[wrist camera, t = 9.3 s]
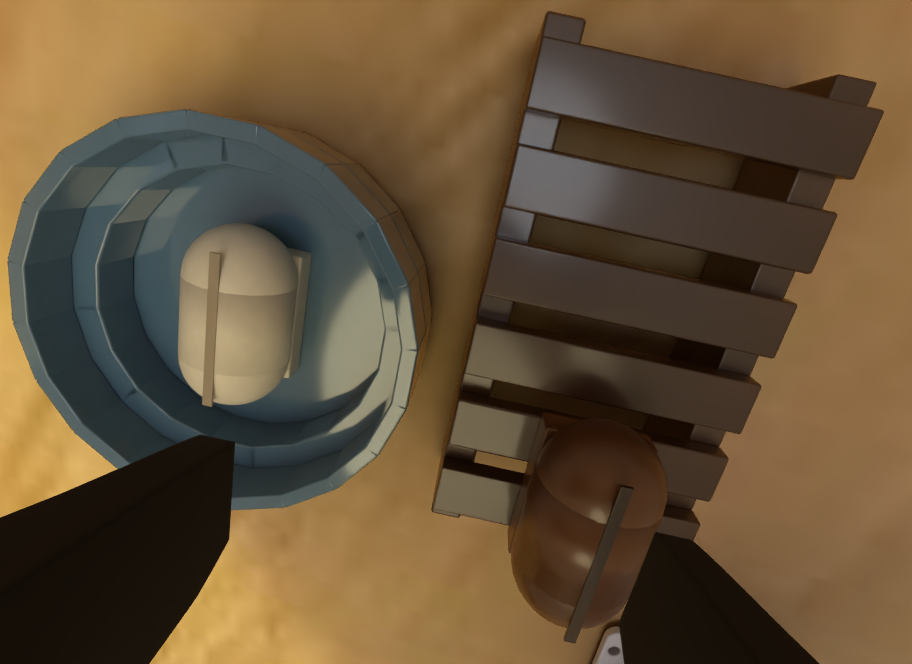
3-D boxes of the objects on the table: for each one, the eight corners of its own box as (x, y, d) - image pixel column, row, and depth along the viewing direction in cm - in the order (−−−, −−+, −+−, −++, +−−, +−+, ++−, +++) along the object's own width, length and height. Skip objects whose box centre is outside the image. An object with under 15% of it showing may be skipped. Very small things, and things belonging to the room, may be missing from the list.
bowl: (401, 473, 20) (380, 544, 17) (110, 409, 20) (23, 465, 17) (463, 166, 16) (454, 167, 13) (105, 88, 17) (-11, 65, 13)
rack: (642, 505, 20) (675, 581, 16) (440, 460, 20) (427, 527, 16) (801, 99, 15) (901, 77, 12) (536, 40, 15) (549, 0, 12)
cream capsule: (299, 388, 19) (259, 434, 16) (210, 368, 19) (152, 410, 16) (318, 229, 17) (276, 244, 14) (219, 208, 17) (154, 218, 14)
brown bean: (600, 572, 16) (626, 673, 13) (498, 550, 16) (499, 645, 13) (661, 411, 14) (711, 481, 11) (546, 385, 14) (561, 449, 11)
